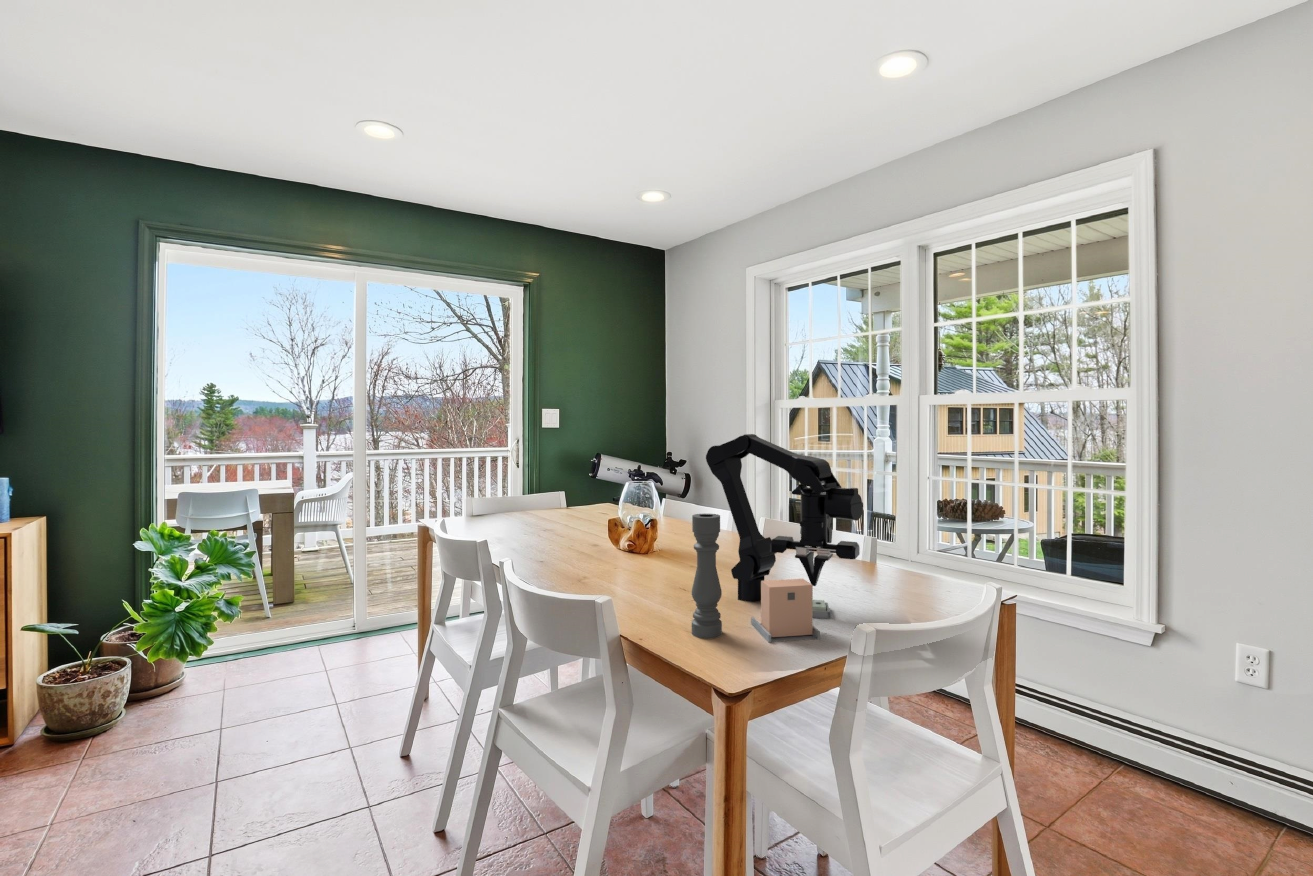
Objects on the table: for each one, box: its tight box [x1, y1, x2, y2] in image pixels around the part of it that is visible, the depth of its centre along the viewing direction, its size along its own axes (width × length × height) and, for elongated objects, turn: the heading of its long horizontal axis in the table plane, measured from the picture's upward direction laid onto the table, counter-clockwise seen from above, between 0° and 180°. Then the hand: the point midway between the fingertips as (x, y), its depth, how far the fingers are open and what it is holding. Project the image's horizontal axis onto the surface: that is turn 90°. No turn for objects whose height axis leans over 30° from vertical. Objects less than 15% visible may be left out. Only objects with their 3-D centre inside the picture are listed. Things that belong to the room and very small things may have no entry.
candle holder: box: [691, 513, 723, 640], centre depth 129 cm, size 6×6×25 cm
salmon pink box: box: [760, 578, 814, 637], centre depth 129 cm, size 5×9×10 cm, turn 100°
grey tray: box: [750, 616, 821, 643], centre depth 131 cm, size 11×11×2 cm
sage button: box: [813, 599, 826, 611], centre depth 143 cm, size 5×5×2 cm
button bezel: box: [813, 602, 834, 620], centre depth 143 cm, size 8×8×2 cm
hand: (814, 585), depth 142 cm, fingers closed
